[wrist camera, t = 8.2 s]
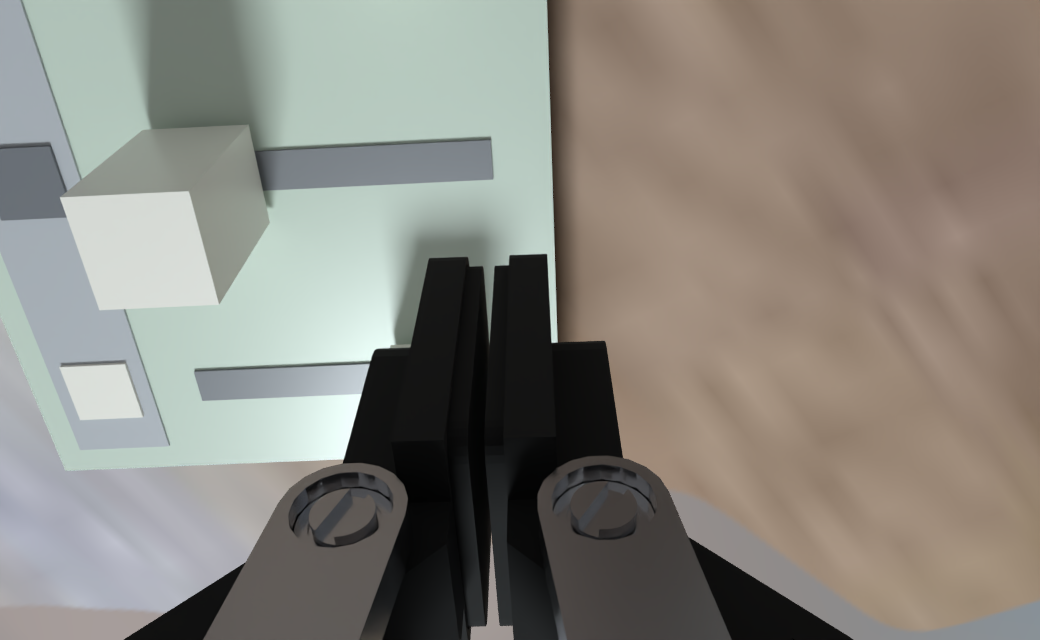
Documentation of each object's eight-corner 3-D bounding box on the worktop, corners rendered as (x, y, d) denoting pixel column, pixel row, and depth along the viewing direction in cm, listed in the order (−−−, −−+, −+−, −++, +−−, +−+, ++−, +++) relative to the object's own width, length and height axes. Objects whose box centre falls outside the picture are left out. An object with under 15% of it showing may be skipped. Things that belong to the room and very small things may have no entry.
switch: (248, 124, 23) (189, 191, 19) (270, 222, 25) (219, 304, 21) (142, 129, 24) (59, 197, 19) (170, 227, 25) (99, 310, 21)
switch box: (534, -296, 21) (537, -314, 19) (557, 400, 33) (561, 453, 30) (-156, -255, 22) (-254, -267, 19) (100, 420, 33) (62, 475, 30)
